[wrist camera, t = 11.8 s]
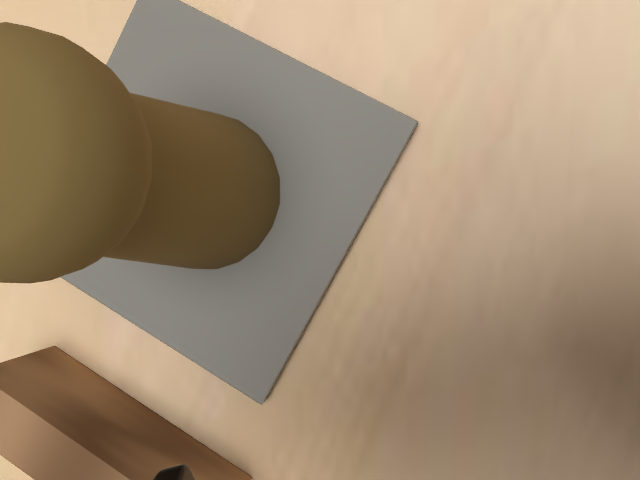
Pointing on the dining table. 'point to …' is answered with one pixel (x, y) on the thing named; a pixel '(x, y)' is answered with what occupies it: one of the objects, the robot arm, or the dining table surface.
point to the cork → (118, 170)
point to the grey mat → (295, 192)
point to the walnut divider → (89, 427)
